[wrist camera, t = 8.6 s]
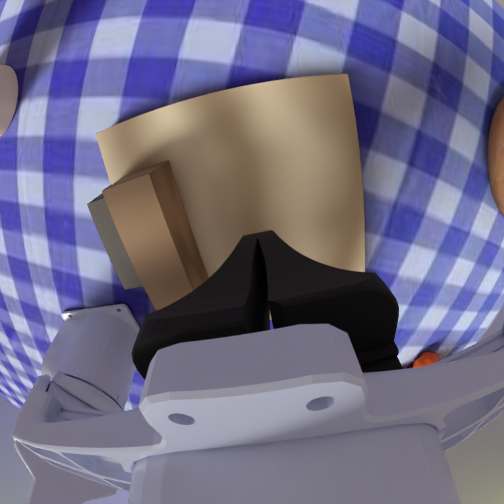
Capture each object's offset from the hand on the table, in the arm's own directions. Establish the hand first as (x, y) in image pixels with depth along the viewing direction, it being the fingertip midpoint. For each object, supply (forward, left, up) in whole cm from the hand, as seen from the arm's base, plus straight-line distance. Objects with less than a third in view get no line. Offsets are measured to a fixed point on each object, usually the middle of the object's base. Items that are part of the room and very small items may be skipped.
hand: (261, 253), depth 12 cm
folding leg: (-6, -3, -7) cm, 10 cm away
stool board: (-1, -1, -9) cm, 9 cm away
